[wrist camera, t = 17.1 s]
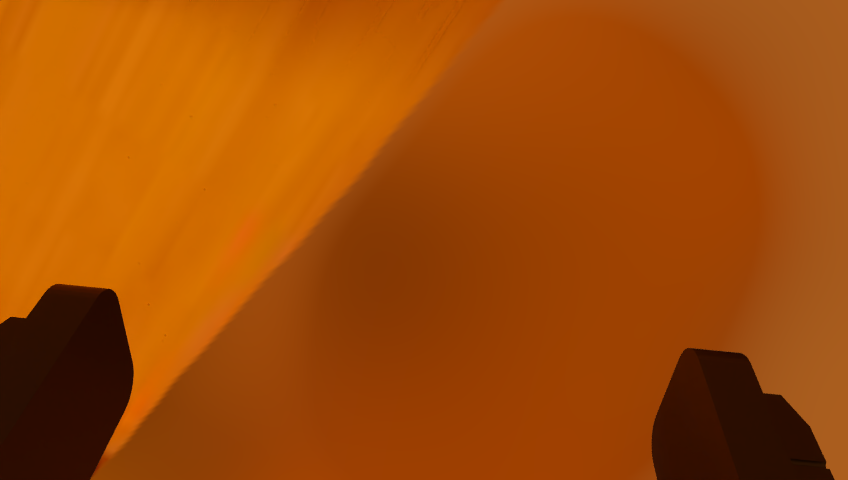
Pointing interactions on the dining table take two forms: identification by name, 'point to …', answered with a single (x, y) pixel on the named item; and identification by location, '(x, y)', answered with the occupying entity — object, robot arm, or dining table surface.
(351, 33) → the dining table surface
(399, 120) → the dining table surface
